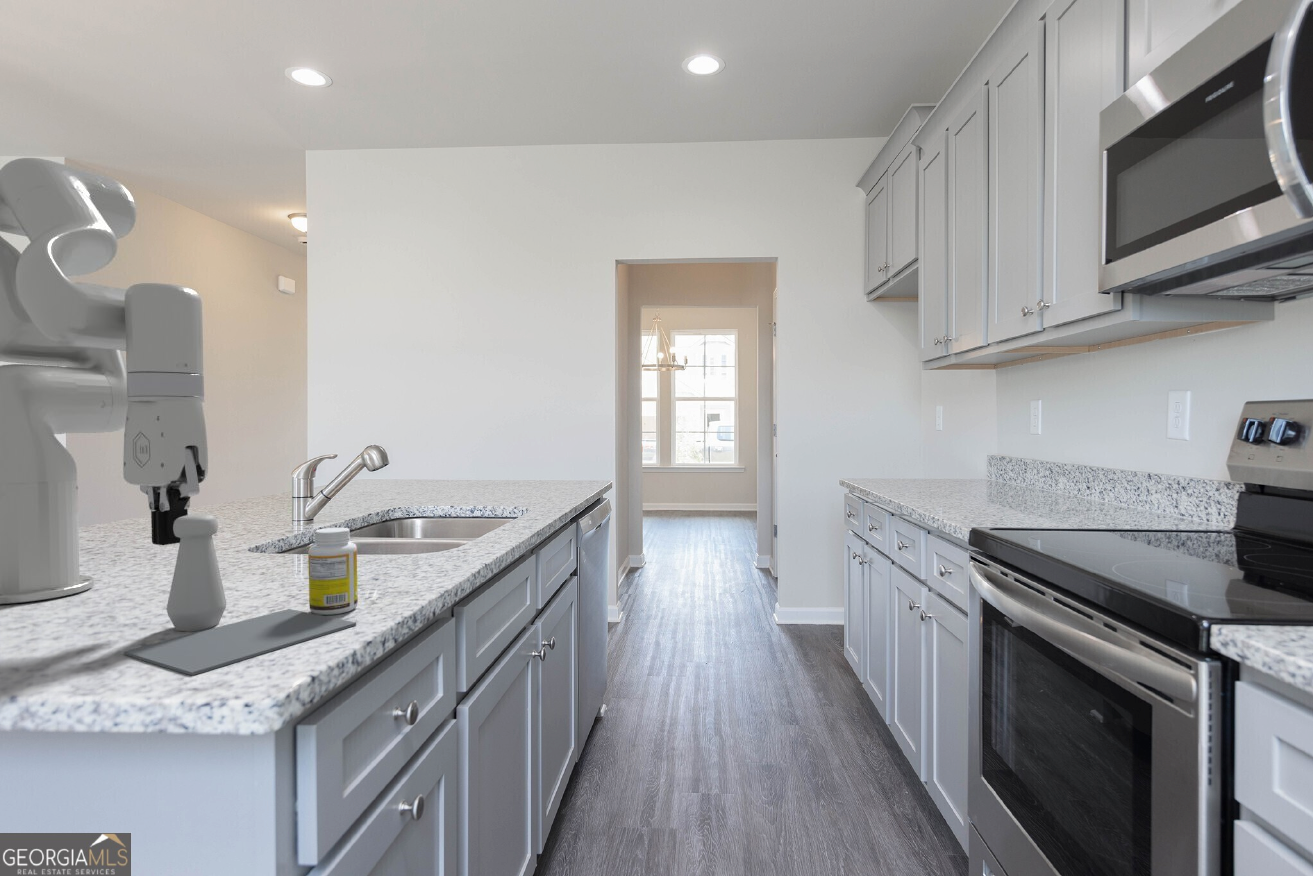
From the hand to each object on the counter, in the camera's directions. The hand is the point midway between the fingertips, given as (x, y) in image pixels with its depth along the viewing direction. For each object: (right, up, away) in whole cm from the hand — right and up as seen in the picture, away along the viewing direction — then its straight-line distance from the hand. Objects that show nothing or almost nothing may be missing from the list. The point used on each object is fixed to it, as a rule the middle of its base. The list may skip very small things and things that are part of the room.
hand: (170, 542), depth 82 cm
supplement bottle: (+17, -9, +4) cm, 20 cm away
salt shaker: (+5, -10, -2) cm, 11 cm away
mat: (+13, -10, -7) cm, 18 cm away
